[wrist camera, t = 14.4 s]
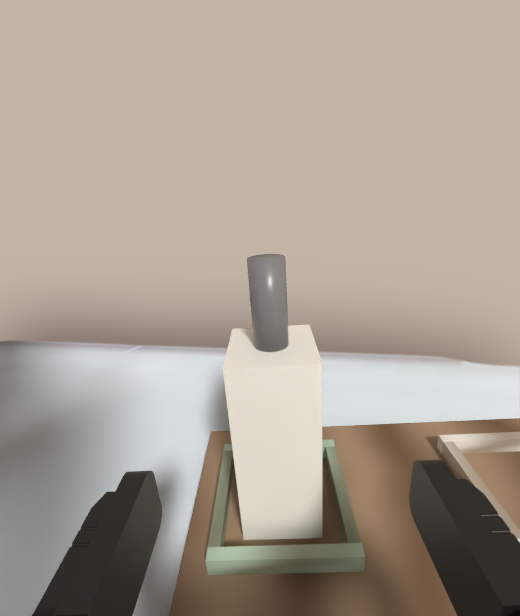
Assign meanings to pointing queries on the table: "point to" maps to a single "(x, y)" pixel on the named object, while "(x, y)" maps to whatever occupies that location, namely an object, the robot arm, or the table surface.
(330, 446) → the walnut port board
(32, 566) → the table surface
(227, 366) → the cream block with handle
